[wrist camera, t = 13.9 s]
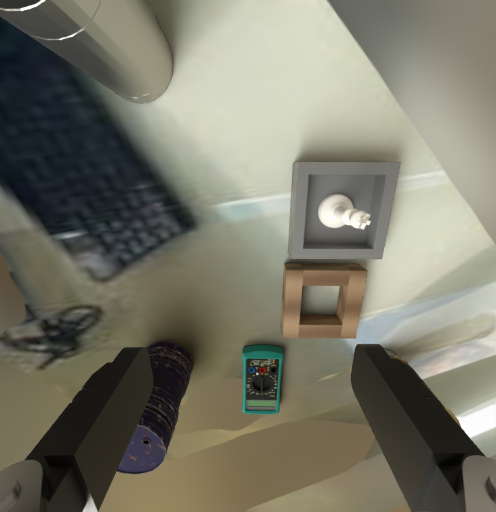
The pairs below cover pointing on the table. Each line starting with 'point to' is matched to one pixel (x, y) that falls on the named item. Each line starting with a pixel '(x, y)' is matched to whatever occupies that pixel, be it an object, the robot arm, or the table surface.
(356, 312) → the socket stand
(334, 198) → the chess piece
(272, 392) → the digital multimeter
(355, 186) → the parts tray
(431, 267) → the table surface
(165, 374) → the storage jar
